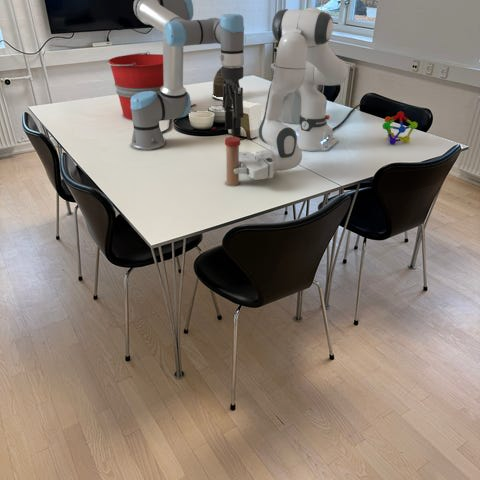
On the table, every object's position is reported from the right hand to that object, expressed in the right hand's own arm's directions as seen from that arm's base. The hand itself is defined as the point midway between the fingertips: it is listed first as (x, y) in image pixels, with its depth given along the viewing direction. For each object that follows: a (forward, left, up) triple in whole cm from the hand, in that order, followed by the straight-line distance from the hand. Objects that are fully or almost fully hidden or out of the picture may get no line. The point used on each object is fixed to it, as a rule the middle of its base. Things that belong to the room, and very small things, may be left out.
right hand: (230, 168), depth 168 cm
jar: (-1, 0, -6) cm, 6 cm away
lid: (-1, 0, +11) cm, 11 cm away
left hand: (-1, 0, +14) cm, 14 cm away
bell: (-96, -88, -6) cm, 131 cm away
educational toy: (-86, +29, -6) cm, 91 cm away
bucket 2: (-87, -29, -6) cm, 91 cm away
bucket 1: (-38, -98, -6) cm, 105 cm away
